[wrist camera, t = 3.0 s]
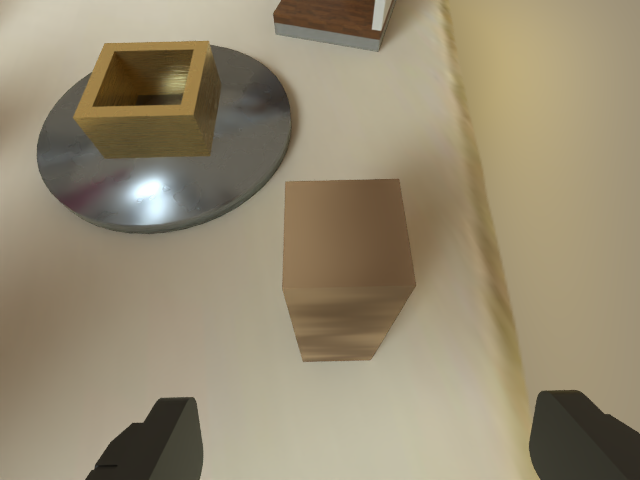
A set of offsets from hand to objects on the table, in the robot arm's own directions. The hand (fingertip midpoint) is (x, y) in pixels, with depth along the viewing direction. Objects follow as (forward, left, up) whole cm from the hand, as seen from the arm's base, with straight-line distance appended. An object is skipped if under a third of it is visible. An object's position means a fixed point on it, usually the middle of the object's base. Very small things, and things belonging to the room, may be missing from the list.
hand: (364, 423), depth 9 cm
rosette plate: (-13, +23, -13) cm, 29 cm away
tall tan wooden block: (0, +6, -13) cm, 14 cm away
